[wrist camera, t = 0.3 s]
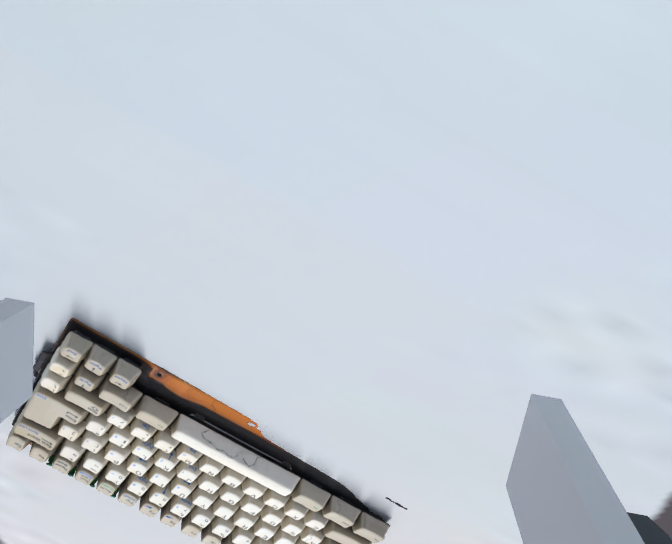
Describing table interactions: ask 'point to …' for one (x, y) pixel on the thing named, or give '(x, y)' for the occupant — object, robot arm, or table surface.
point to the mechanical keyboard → (177, 451)
